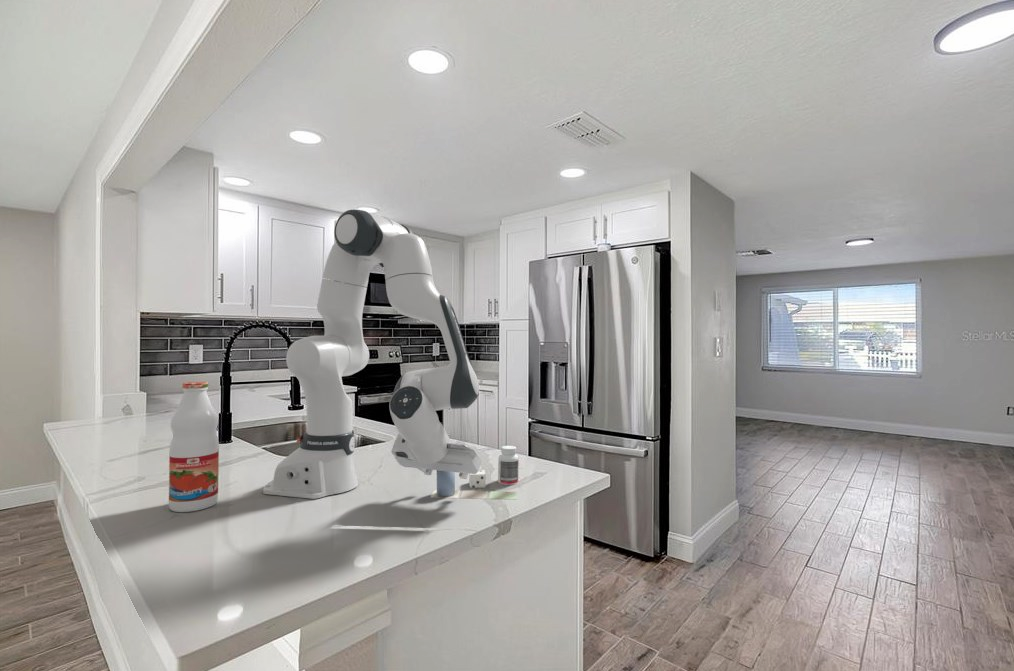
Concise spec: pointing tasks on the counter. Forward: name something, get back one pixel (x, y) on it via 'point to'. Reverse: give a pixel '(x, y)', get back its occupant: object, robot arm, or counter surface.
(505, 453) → the pill bottle
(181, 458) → the fruit juice
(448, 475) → the pawn
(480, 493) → the track
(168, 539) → the counter surface
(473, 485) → the die
